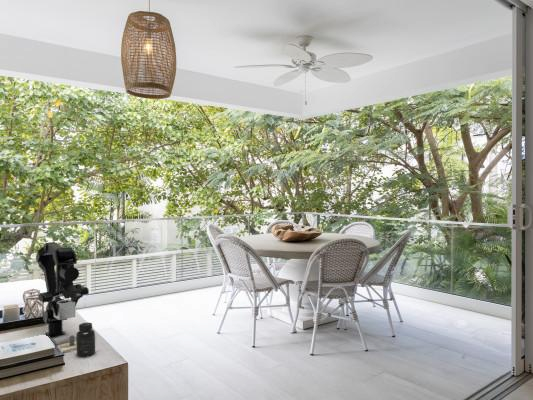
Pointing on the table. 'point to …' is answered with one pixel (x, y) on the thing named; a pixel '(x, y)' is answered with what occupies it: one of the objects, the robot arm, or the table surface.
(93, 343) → the supplement bottle
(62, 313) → the hollow square tube
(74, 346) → the shaft plate
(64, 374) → the table surface
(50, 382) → the table surface
